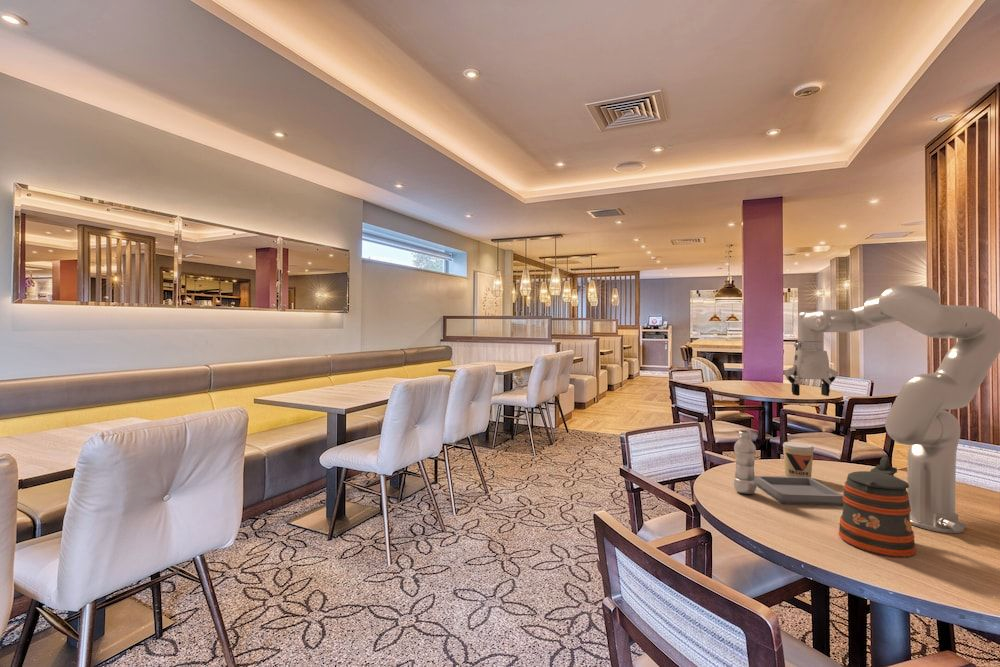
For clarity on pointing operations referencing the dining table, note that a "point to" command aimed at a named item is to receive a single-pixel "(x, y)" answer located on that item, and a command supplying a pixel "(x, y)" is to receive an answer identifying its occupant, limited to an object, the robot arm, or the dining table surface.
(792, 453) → the coffee cup
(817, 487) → the tray
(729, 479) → the dining table surface
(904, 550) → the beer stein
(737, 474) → the plastic bottle
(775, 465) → the dining table surface
